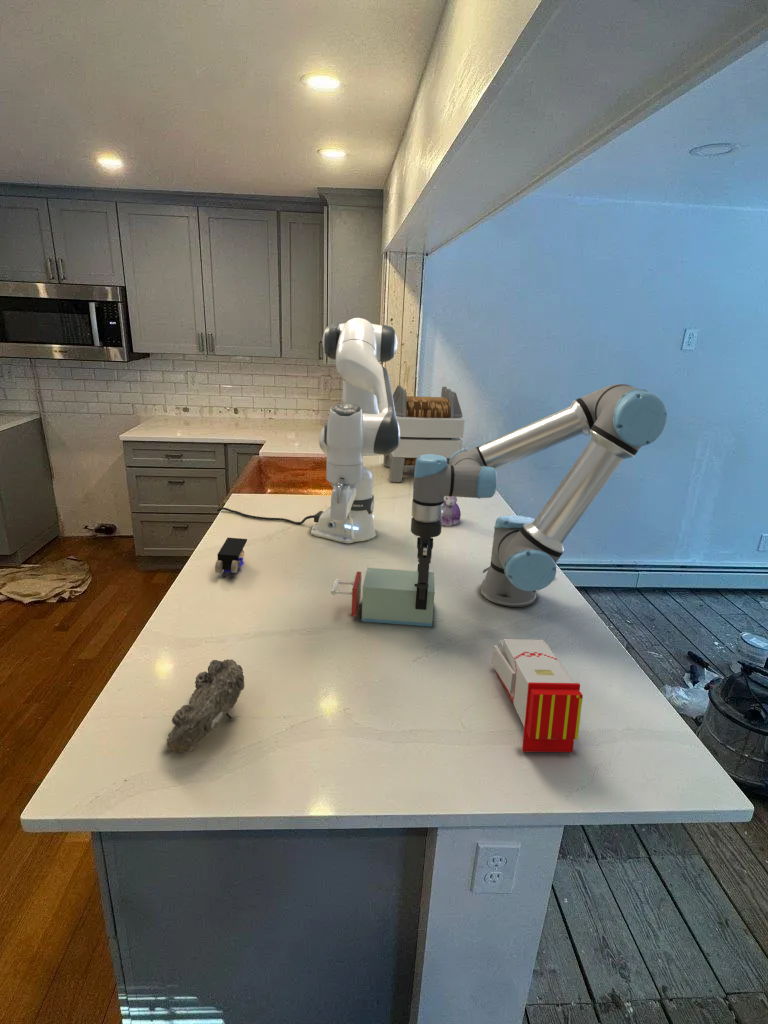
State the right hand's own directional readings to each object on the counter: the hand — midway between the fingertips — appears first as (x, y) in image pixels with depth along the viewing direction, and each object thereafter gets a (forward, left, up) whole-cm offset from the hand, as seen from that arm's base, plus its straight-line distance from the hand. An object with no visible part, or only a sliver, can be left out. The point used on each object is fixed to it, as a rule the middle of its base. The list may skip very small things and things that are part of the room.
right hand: (421, 597), depth 146 cm
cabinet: (+5, -3, -5) cm, 8 cm away
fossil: (+55, +23, -5) cm, 59 cm away
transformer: (-58, -122, -5) cm, 135 cm away
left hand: (+18, -9, +18) cm, 27 cm away
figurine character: (+42, -40, -5) cm, 59 cm away
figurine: (-40, -58, -5) cm, 71 cm away
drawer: (+11, -5, -4) cm, 13 cm away
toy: (-6, +39, -5) cm, 40 cm away
